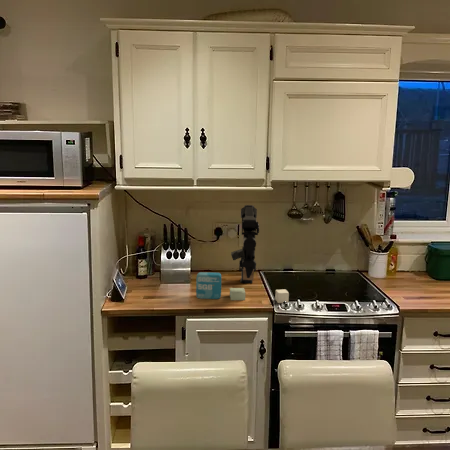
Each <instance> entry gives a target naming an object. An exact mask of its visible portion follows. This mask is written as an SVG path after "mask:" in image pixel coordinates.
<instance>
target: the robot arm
mask: <svg viewBox="0 0 450 450" xmlns="http://www.w3.org/2000/svg"><path fill="white" fill-rule="evenodd" d="M257 213H258V210H257V208H256V207H255V205H253V204H252V205H251V204H246V205H244V206H243V207H242V208H240V219H241V235H242V236H243V237H242V240H243V241H242V243H243V244H242V248H241V249H237V250H234V251H231V253H230V256H231V258H232V261H236V260H238V259H239V260H238V261H239V264H238V266H239V267H238V268H239V269H238V271H239V272H241V275H240V276H241V277H240V283H241V284H253V281H254V280H243V267H245V269H246V274H247V278H250V276H251V273H252V271H253V269H254V273H255V272H256V271H257V262H256V260H255V259H256V257H255V254H256V247H257V241H256V236H258V235H259V233H260V224H259V222H258V221H257V216H258V214H257Z"/></svg>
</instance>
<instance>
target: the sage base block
mask: <svg viewBox="0 0 450 450" xmlns="http://www.w3.org/2000/svg"><path fill="white" fill-rule="evenodd" d="M229 298H230V301H246V290H245V288H244V287H229Z"/></svg>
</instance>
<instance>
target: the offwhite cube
mask: <svg viewBox="0 0 450 450" xmlns="http://www.w3.org/2000/svg"><path fill="white" fill-rule="evenodd" d="M274 297H275V298H274V300H275V301H276V302H277V304H284V303H283V302H284V301H286V302H288V303H289V299H290V298H289V297H290V293H289V291H288V290H287V289H283V288H282V289H275V296H274Z"/></svg>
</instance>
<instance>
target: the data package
mask: <svg viewBox="0 0 450 450" xmlns="http://www.w3.org/2000/svg"><path fill="white" fill-rule="evenodd" d="M195 281H196V282H195V285H196V289H195V295H196V298H197V299H202V300H203V299H205V300H208V299H209V300H219V299H220V298H221V296H222V274H221V273H220V272H209V271H208V272H206V271H205V272H204V271H203V272H202V271H200V272H198V273H197V274H196V280H195Z"/></svg>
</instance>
